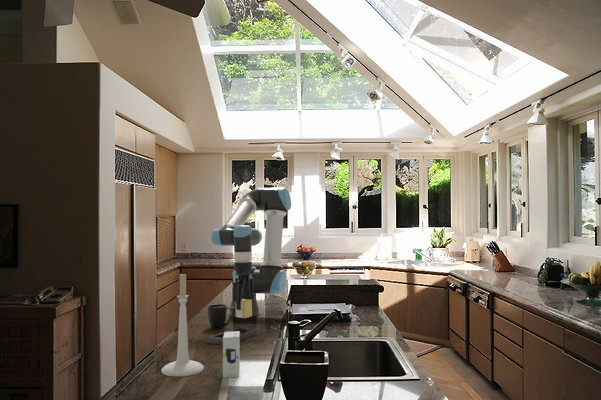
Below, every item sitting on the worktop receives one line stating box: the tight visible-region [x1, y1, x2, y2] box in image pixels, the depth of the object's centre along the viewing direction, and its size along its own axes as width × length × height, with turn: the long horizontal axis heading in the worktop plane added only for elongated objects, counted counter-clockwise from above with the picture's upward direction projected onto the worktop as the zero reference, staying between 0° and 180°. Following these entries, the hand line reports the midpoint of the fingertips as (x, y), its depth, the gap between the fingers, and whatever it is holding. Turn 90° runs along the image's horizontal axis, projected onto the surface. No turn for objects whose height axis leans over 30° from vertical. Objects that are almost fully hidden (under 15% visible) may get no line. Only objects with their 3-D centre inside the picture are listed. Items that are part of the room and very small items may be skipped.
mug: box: [207, 303, 235, 330], centre depth 222 cm, size 8×12×10 cm
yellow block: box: [235, 299, 253, 319], centre depth 219 cm, size 5×5×7 cm
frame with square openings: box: [207, 327, 257, 346], centre depth 201 cm, size 20×8×2 cm, turn 150°
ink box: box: [222, 331, 241, 378], centre depth 155 cm, size 9×5×12 cm, turn 5°
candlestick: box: [160, 273, 205, 377], centre depth 159 cm, size 13×13×30 cm
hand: (243, 315), depth 219 cm, fingers closed on yellow block, 5 cm apart
